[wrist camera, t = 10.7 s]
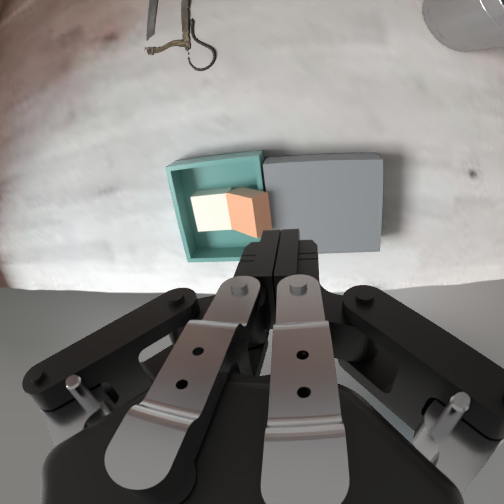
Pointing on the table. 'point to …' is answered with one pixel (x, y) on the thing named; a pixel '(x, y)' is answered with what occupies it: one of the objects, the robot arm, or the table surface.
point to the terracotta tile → (249, 211)
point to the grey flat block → (328, 199)
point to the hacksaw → (185, 29)
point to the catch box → (204, 178)
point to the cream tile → (211, 209)
